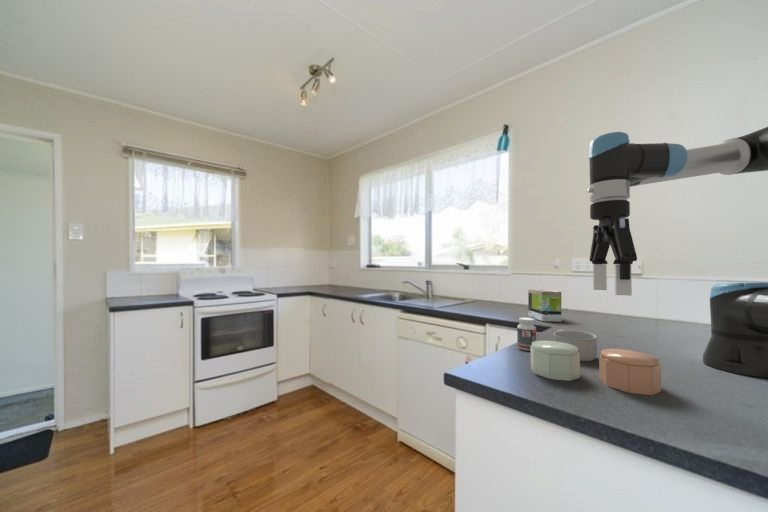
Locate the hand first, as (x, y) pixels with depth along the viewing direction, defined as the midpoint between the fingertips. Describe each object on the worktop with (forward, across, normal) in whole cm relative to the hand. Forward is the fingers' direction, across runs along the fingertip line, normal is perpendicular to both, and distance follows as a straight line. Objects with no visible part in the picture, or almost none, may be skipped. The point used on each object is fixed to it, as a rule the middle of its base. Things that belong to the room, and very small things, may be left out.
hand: (610, 292), depth 72 cm
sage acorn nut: (+22, -1, -12) cm, 25 cm away
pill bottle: (+22, -28, -14) cm, 38 cm away
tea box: (+22, -91, +2) cm, 93 cm away
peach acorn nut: (+22, +2, +2) cm, 22 cm away
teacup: (+22, -20, -3) cm, 29 cm away
